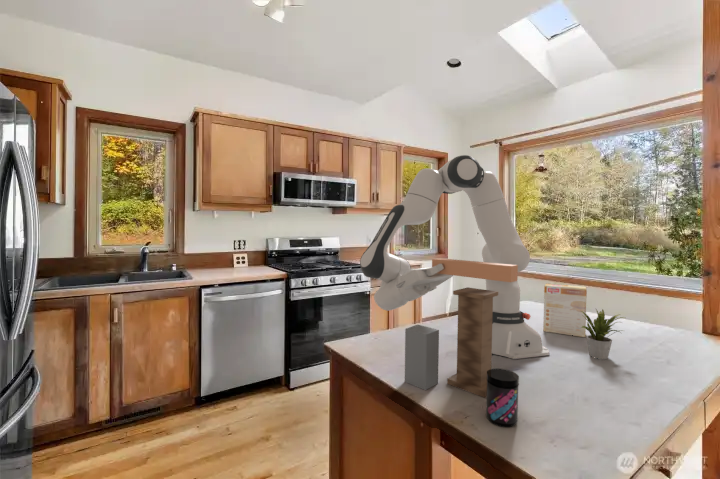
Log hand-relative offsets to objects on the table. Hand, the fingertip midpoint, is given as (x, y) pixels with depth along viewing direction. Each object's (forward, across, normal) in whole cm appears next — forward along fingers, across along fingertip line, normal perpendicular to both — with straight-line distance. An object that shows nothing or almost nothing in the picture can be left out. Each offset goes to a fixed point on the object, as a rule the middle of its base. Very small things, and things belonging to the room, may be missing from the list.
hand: (448, 265), depth 102 cm
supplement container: (+2, -12, +39) cm, 41 cm away
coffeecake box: (-7, +73, +34) cm, 81 cm away
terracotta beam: (+5, 0, +6) cm, 8 cm away
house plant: (+9, +50, +42) cm, 66 cm away
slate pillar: (-18, -9, +27) cm, 34 cm away
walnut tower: (-9, 0, +32) cm, 33 cm away
